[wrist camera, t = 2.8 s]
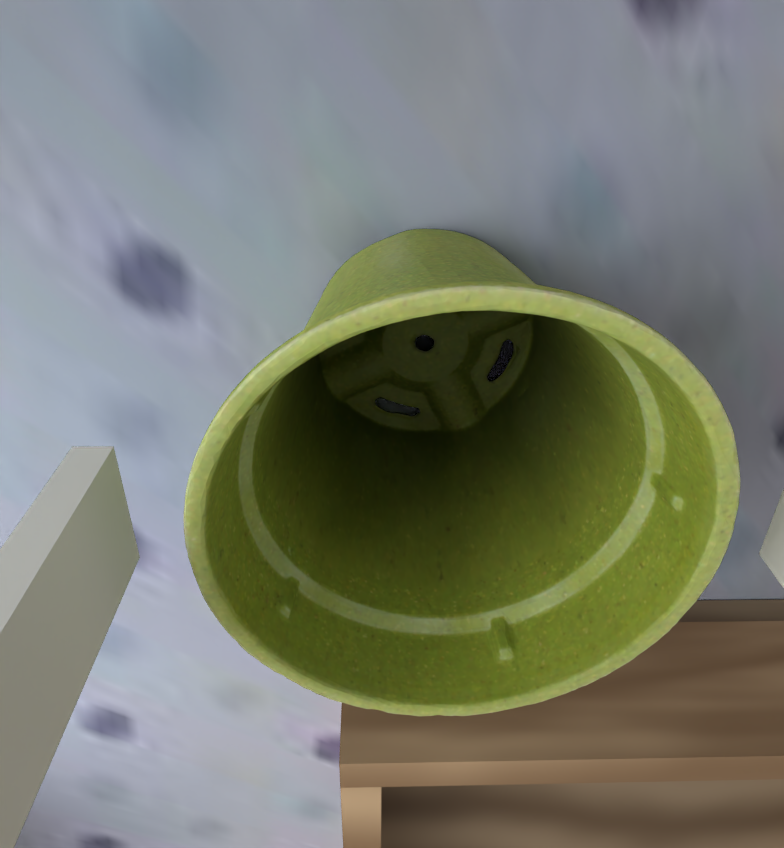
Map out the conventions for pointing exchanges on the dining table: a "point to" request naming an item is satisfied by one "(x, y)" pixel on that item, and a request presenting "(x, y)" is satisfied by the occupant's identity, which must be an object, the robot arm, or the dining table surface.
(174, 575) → the dining table surface
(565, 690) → the plant pot
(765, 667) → the wooden tray
